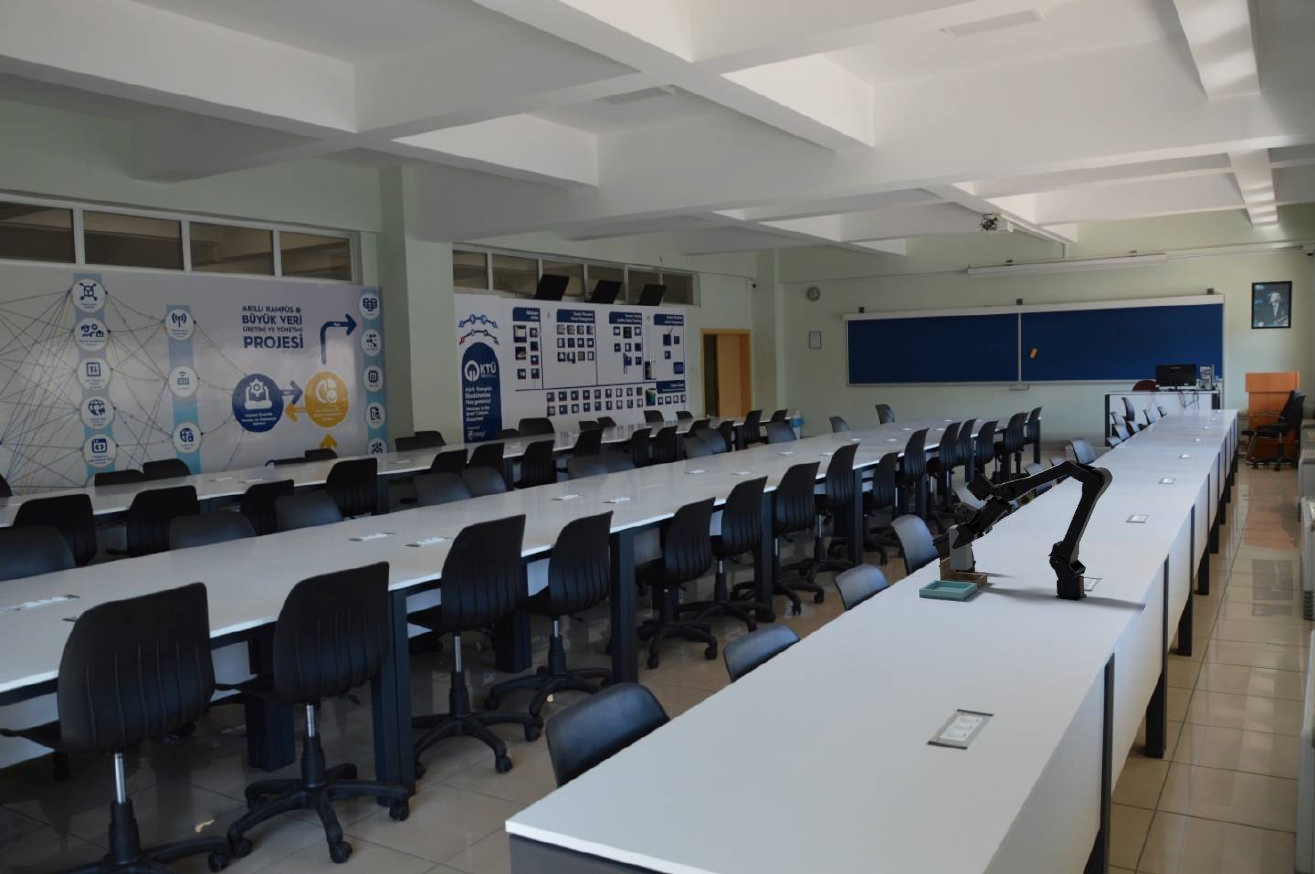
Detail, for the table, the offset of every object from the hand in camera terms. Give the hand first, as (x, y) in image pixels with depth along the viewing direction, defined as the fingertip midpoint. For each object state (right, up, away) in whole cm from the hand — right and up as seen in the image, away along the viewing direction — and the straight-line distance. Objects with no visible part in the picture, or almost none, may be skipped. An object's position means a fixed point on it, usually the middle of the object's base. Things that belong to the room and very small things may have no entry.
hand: (956, 546), depth 303 cm
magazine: (+6, -11, +21) cm, 25 cm away
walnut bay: (+3, -12, +2) cm, 13 cm away
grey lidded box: (+2, -7, 0) cm, 7 cm away
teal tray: (-5, -13, -9) cm, 17 cm away
